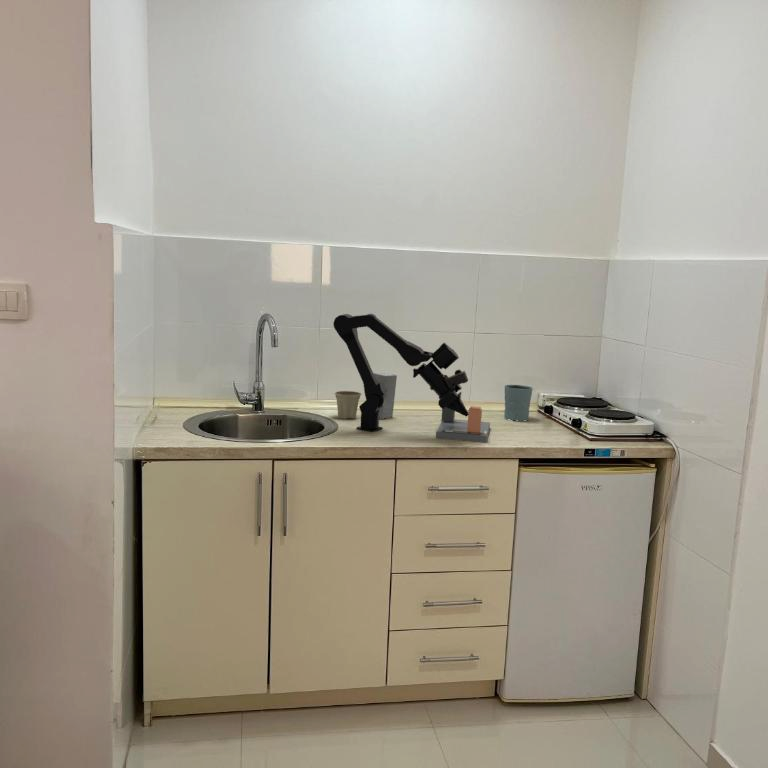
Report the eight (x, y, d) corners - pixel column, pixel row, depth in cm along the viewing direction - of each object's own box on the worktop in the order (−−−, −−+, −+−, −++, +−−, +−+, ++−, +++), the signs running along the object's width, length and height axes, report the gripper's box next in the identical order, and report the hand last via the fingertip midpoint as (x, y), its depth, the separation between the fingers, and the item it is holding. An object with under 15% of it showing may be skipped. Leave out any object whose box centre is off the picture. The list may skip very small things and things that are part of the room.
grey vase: (364, 415, 272) (366, 371, 269) (377, 413, 277) (379, 370, 275) (382, 420, 266) (384, 375, 264) (395, 417, 272) (397, 373, 269)
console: (434, 437, 243) (434, 430, 243) (441, 424, 264) (441, 417, 264) (486, 442, 240) (486, 435, 240) (489, 428, 262) (490, 421, 261)
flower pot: (336, 413, 273) (337, 389, 272) (362, 415, 272) (363, 391, 271) (331, 418, 264) (331, 394, 263) (357, 421, 263) (358, 396, 261)
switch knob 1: (441, 420, 258) (442, 398, 257) (442, 418, 262) (444, 396, 261) (453, 421, 257) (454, 399, 256) (454, 419, 261) (455, 397, 260)
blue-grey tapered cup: (508, 421, 274) (510, 388, 272) (497, 416, 283) (500, 384, 282) (534, 421, 276) (537, 389, 274) (523, 416, 286) (525, 384, 284)
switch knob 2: (467, 431, 243) (468, 408, 242) (468, 428, 247) (469, 405, 245) (479, 432, 242) (481, 409, 241) (480, 430, 246) (482, 406, 245)
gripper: (451, 366, 233) (485, 404, 233) (456, 358, 251) (488, 394, 251) (424, 389, 236) (458, 427, 236) (431, 380, 254) (462, 416, 254)
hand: (467, 415), depth 244 cm, fingers closed, pressing on switch knob 2
